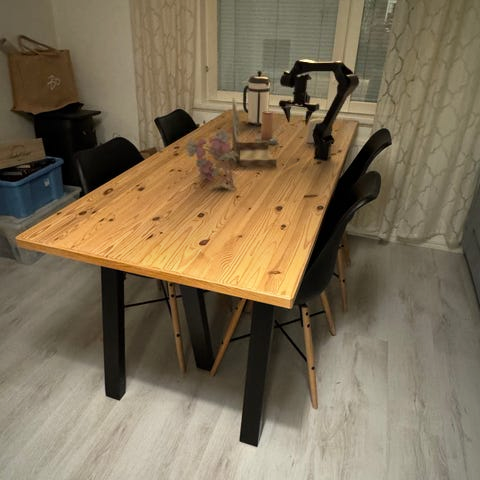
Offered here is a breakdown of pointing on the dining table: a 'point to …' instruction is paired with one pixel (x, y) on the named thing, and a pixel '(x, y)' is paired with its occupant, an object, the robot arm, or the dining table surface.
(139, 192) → the dining table surface
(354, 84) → the robot arm
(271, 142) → the grey plate
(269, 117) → the tan tapered cylinder
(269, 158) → the cold frame
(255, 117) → the coffee press
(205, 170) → the flower
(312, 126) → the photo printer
